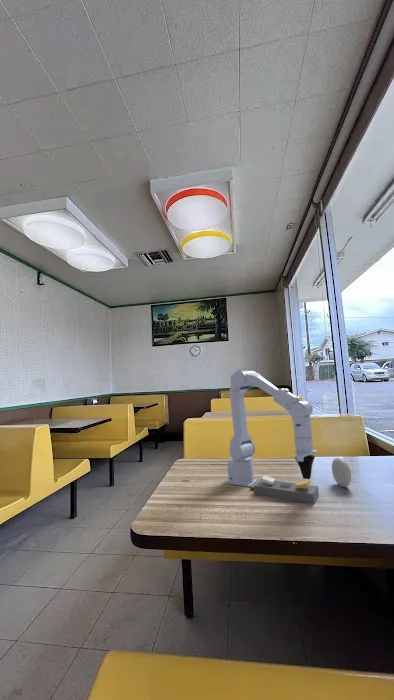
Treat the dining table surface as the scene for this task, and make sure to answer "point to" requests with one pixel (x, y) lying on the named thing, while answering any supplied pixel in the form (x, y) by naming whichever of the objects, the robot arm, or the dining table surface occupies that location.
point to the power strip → (286, 491)
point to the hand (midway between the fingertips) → (306, 478)
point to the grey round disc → (341, 472)
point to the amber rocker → (302, 484)
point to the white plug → (268, 480)
